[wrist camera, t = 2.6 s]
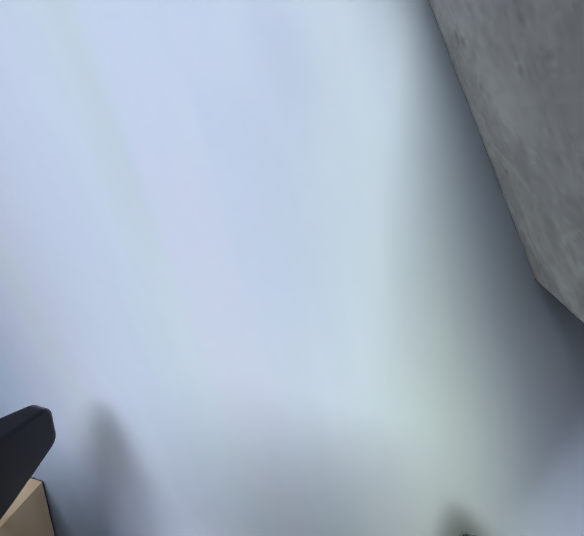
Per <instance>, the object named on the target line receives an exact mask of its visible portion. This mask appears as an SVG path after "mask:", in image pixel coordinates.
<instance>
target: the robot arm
mask: <svg viewBox="0 0 584 536" xmlns="http://www.w3.org/2000/svg"><path fill="white" fill-rule="evenodd" d="M55 437H56V433H55V428H54V423H53V417H52V413H51V411H50V410H49V409H47V408H44V407H40V406H37V405H31V406H28V407H25V408H23V409H21V410H19V411H16V412H14V413H12V414H9V415H7V416H5V417H2V418H0V520H1V518H2V517H3V516H4V514H5V513H6V512H7V511H8V509H9V508H10V506H11V505H12V504H13V502H14V501H15V499H16V498H17V497H18V495H19V494H20V492H21V491H22V489H23V488H24V486H25V485H26V483H27V482H28V481H29V479H30V478H31V476H32V475H33V473H34V472H35V470H36V469H37V467H38V466H39V465H40V463H41V462H42V460H43V459H44V457H45V456H46V454H47V453H48V451H49V450H50V448H51V447H52V445H53V443H54V441H55ZM460 536H475V535H471V534H468V533H462V534H460Z"/></svg>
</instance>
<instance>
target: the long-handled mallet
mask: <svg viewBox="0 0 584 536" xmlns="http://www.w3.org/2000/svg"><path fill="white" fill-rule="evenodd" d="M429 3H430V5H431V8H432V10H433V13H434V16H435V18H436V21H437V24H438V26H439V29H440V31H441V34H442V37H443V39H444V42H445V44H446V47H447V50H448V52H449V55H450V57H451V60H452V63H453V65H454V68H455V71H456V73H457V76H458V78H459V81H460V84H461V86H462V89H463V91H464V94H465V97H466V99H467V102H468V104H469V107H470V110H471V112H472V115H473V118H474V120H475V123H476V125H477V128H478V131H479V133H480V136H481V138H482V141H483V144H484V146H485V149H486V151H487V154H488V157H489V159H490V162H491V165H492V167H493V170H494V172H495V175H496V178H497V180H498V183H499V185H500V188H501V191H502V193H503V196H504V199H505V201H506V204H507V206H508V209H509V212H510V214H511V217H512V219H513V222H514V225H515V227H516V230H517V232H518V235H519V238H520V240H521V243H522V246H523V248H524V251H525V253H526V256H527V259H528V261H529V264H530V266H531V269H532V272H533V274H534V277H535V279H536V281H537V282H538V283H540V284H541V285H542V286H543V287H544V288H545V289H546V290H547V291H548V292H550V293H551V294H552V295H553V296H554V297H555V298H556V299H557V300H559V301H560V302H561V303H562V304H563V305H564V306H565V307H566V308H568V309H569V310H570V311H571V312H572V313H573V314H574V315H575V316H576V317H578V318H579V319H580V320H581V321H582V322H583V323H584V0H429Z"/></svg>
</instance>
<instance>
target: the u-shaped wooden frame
mask: <svg viewBox="0 0 584 536" xmlns="http://www.w3.org/2000/svg"><path fill="white" fill-rule="evenodd" d="M0 536H55V535H54V531H53V526H52V522H51V518H50V514H49V509H48V505H47V501H46V496H45V492H44V488H43V484H42V482H41V481H38V480H35V479H32V478H30V479H29V481H28V482H27V483H26V485H25V486H24V488H23V489H22V491H21V492H20V494H19V495H18V497H17V498H16V499H15V501H14V502H13V504H12V505H11V506H10V508H9V509H8V511H7V512H6V513H5V514H4V516H3V517H2V518H1V520H0Z"/></svg>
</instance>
